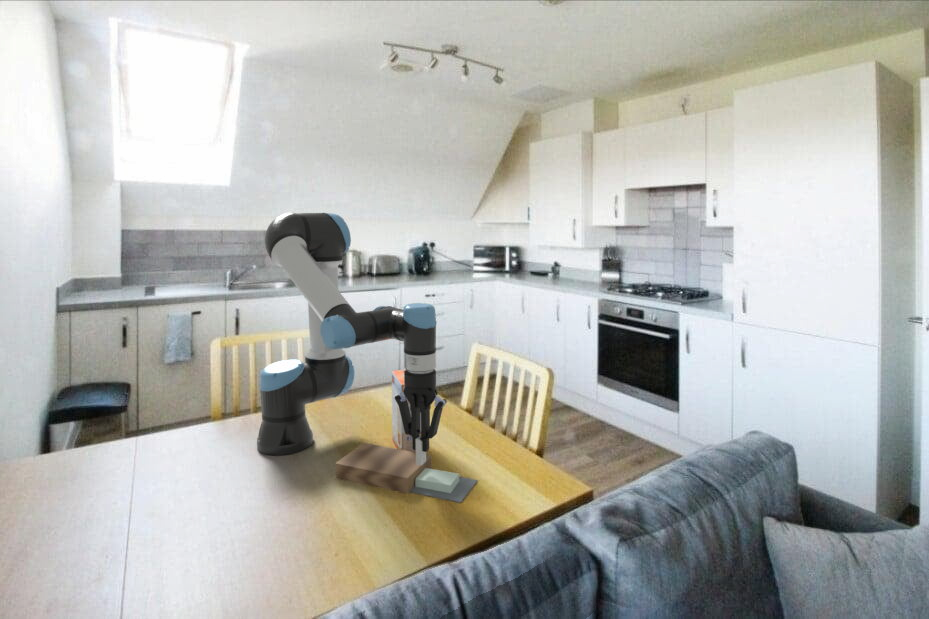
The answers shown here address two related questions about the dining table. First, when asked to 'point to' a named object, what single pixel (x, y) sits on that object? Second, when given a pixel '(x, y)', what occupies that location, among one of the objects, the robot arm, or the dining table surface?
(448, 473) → the pale green eraser
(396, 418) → the cracker box
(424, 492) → the mat
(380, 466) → the wooden block
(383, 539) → the dining table surface
